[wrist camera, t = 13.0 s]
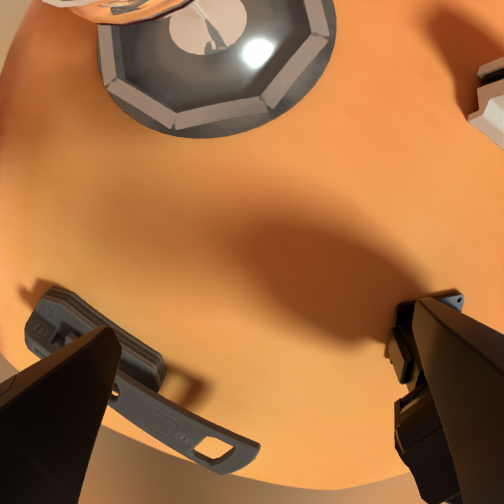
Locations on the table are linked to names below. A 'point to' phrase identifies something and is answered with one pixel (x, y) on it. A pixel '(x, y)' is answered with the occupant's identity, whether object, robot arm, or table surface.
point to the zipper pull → (134, 382)
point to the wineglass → (181, 23)
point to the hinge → (490, 102)
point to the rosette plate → (219, 70)
